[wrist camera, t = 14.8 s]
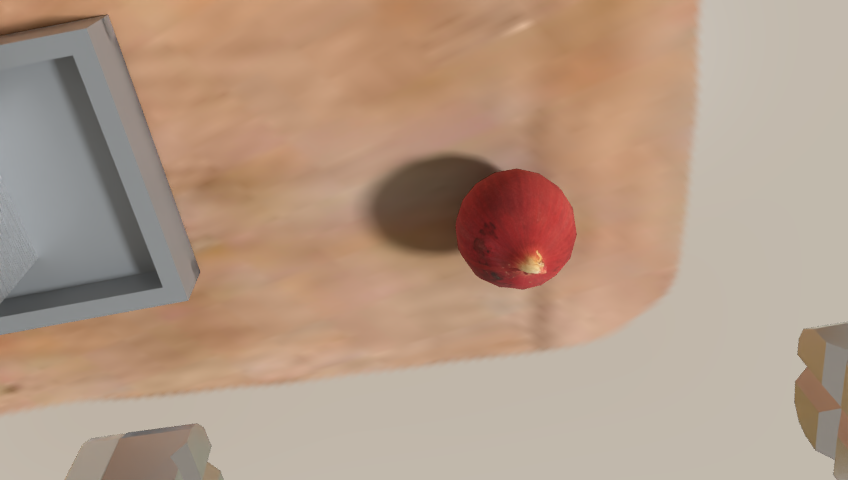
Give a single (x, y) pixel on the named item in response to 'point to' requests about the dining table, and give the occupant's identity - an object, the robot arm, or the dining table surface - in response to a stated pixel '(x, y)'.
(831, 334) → the robot arm
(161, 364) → the dining table surface
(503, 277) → the onion
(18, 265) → the block
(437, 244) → the dining table surface
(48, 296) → the tray
